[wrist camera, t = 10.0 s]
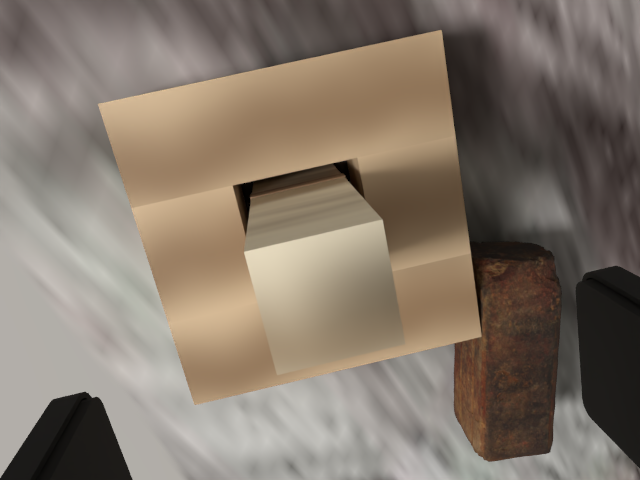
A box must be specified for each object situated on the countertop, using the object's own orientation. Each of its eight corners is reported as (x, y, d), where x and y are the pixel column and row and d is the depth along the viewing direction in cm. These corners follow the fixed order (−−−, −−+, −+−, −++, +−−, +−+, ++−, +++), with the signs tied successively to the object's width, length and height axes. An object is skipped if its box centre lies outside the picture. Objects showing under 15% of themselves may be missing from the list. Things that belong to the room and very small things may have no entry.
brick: (515, 405, 32) (556, 457, 27) (450, 412, 31) (481, 466, 27) (523, 234, 29) (571, 260, 24) (452, 240, 28) (487, 268, 24)
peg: (252, 180, 26) (241, 250, 15) (332, 162, 26) (383, 217, 15) (271, 256, 27) (275, 377, 16) (348, 238, 28) (407, 345, 16)
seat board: (124, 101, 25) (98, 104, 21) (414, 39, 25) (441, 29, 21) (204, 362, 29) (194, 404, 25) (453, 304, 29) (481, 336, 25)
